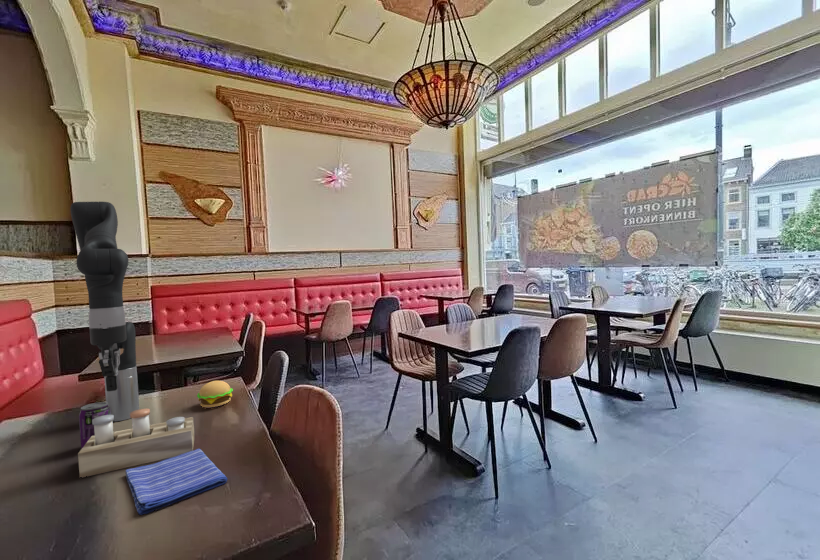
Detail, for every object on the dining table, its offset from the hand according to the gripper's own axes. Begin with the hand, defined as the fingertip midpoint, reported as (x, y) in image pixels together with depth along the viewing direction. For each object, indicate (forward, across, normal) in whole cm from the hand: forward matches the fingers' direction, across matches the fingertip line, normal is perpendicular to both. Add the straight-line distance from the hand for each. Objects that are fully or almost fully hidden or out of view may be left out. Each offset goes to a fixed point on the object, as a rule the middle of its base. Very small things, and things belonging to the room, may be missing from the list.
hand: (112, 390), depth 102 cm
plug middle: (+14, 0, +6) cm, 15 cm away
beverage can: (+19, -15, -7) cm, 25 cm away
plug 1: (+14, 0, -2) cm, 14 cm away
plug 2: (+18, +1, +14) cm, 23 cm away
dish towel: (+19, +21, +14) cm, 32 cm away
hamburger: (+19, -35, +25) cm, 47 cm away
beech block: (+19, 0, +6) cm, 20 cm away
